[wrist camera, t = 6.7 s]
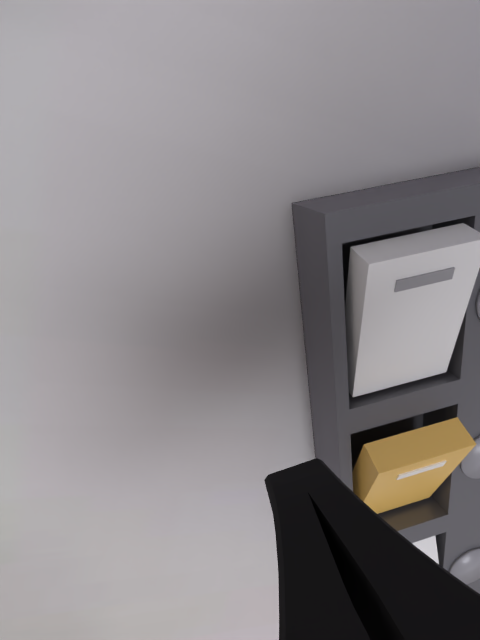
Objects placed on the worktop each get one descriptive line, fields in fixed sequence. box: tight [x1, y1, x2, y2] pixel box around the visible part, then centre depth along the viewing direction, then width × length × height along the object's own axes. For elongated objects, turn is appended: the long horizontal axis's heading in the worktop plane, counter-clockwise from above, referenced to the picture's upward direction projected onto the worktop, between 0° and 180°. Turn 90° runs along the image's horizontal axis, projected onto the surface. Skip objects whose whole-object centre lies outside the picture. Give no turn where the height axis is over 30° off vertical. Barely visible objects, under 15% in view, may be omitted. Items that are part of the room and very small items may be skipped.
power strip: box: [292, 167, 480, 594], centre depth 23 cm, size 10×32×4 cm, turn 9°
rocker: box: [345, 223, 480, 397], centre depth 17 cm, size 5×7×2 cm
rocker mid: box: [352, 417, 476, 514], centre depth 21 cm, size 5×7×2 cm
